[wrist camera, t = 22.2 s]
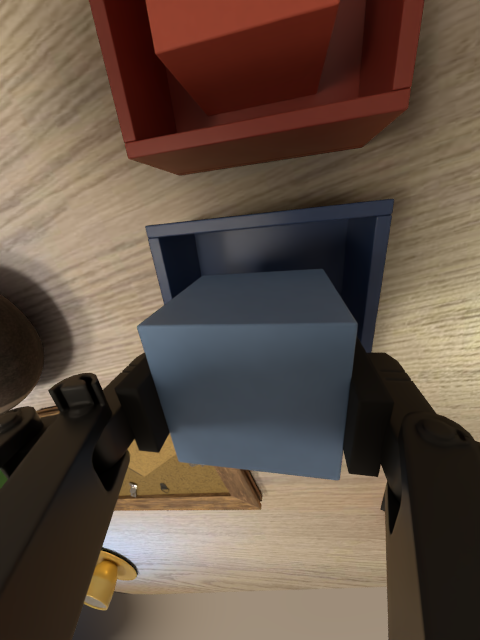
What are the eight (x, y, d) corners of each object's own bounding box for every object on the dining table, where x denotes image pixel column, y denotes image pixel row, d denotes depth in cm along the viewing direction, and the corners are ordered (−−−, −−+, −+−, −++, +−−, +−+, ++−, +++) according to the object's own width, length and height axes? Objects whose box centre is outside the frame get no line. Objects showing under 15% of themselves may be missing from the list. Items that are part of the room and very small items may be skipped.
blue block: (202, 275, 12) (135, 326, 7) (323, 268, 11) (358, 322, 6) (218, 370, 15) (178, 462, 9) (318, 373, 13) (340, 481, 8)
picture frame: (200, 375, 22) (38, 409, 30) (193, 388, 21) (24, 420, 28) (262, 495, 29) (116, 499, 36) (261, 512, 27) (108, 512, 34)
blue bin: (187, 221, 17) (144, 225, 12) (357, 202, 14) (395, 198, 9) (210, 354, 21) (187, 399, 16) (342, 356, 19) (363, 409, 14)
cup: (118, 548, 44) (97, 589, 39) (148, 579, 48) (132, 621, 43) (72, 544, 47) (48, 582, 42) (103, 574, 51) (84, 611, 47)
